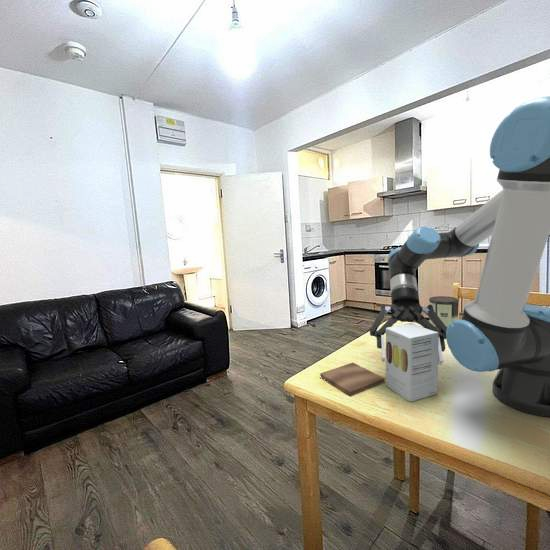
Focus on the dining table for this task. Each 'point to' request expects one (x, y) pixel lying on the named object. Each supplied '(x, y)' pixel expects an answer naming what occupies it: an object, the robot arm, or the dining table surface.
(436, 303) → the coffee can
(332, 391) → the dining table surface
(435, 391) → the supplement box
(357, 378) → the walnut board
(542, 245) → the robot arm
